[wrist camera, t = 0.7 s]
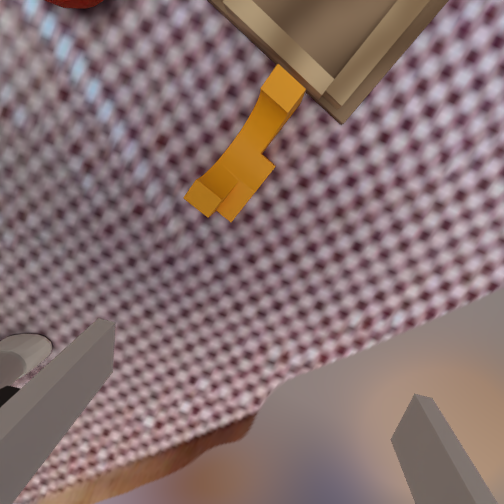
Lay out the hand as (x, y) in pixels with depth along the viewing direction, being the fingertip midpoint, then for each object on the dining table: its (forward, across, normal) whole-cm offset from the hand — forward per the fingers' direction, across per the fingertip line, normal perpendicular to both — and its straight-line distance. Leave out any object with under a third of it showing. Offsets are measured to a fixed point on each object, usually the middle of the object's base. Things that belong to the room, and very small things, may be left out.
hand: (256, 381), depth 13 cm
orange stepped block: (+20, -4, +9) cm, 22 cm away
